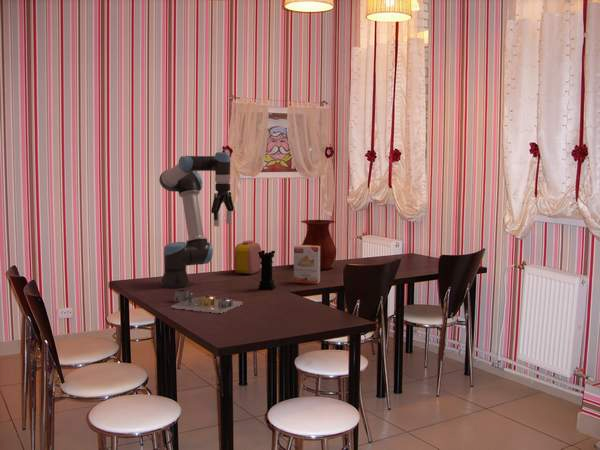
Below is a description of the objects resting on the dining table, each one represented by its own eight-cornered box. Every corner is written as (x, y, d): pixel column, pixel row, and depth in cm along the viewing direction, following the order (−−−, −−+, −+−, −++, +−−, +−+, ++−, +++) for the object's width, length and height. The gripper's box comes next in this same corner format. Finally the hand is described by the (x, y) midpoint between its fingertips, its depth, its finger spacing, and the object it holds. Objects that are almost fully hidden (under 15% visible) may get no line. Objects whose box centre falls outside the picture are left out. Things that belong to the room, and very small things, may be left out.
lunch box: (245, 270, 406) (245, 239, 405) (262, 271, 403) (262, 240, 401) (233, 275, 389) (233, 242, 387) (250, 276, 386) (250, 243, 384)
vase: (334, 265, 427) (334, 219, 424) (338, 271, 403) (339, 222, 401) (298, 265, 425) (298, 219, 422) (300, 271, 402) (301, 223, 399)
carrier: (171, 308, 301) (171, 296, 300) (195, 300, 319) (195, 288, 318) (220, 313, 290) (220, 301, 290) (242, 304, 308) (242, 293, 308)
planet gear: (171, 301, 315) (170, 291, 315) (180, 298, 322) (179, 288, 322) (184, 303, 312) (184, 292, 312) (193, 299, 319) (192, 289, 319)
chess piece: (272, 290, 343) (272, 252, 341) (257, 289, 345) (257, 252, 343) (275, 287, 351) (275, 250, 349) (261, 286, 352) (261, 250, 350)
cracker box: (293, 283, 363) (293, 246, 361) (296, 281, 369) (296, 244, 367) (318, 284, 360) (318, 246, 358) (320, 282, 366) (320, 245, 364)
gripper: (217, 184, 316) (217, 227, 318) (240, 182, 339) (240, 223, 341) (203, 183, 319) (204, 227, 321) (227, 182, 342) (227, 222, 344)
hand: (222, 225), depth 331 cm, fingers open, 13 cm apart
